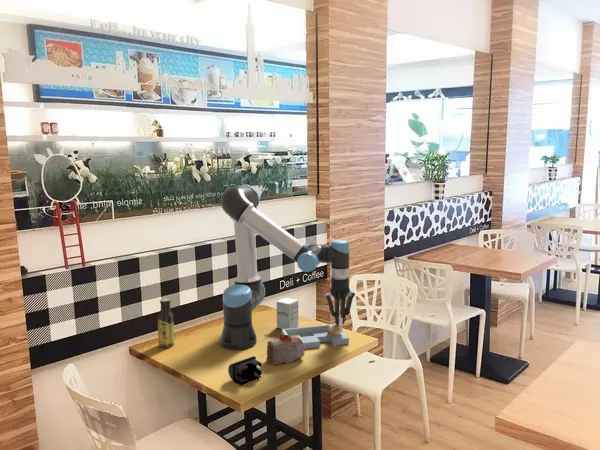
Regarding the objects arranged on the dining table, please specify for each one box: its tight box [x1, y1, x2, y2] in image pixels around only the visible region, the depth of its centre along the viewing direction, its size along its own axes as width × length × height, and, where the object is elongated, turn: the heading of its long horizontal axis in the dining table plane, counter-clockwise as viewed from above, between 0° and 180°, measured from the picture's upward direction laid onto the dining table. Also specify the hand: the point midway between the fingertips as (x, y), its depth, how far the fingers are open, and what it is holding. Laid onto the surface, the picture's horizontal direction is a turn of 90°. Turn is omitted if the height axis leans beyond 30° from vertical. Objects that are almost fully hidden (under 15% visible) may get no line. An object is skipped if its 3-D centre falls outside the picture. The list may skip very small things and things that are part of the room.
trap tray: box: [281, 324, 350, 350], centre depth 210 cm, size 26×11×5 cm, turn 105°
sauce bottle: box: [157, 297, 175, 349], centre depth 206 cm, size 7×6×20 cm
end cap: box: [227, 355, 263, 386], centre depth 177 cm, size 10×7×7 cm
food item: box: [266, 334, 305, 366], centre depth 193 cm, size 14×8×10 cm, turn 120°
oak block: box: [327, 323, 340, 337], centre depth 211 cm, size 4×4×4 cm
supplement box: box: [276, 297, 299, 330], centre depth 226 cm, size 7×7×13 cm
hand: (339, 331), depth 212 cm, fingers closed
